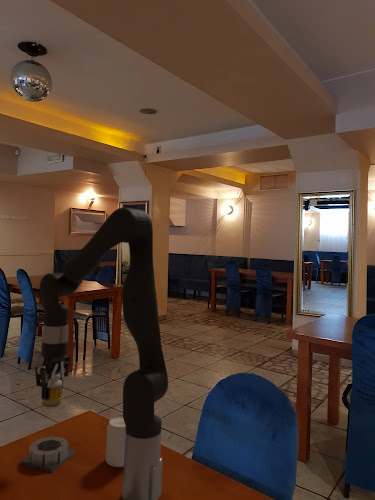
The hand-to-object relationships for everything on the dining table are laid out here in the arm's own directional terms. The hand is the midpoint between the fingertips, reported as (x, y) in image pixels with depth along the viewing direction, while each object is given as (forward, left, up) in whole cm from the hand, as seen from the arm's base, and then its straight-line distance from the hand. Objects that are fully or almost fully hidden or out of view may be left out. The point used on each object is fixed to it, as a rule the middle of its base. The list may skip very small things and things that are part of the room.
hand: (52, 395), depth 119 cm
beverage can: (-20, -7, -19) cm, 28 cm away
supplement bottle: (0, 0, -3) cm, 3 cm away
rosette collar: (0, 0, -19) cm, 19 cm away
